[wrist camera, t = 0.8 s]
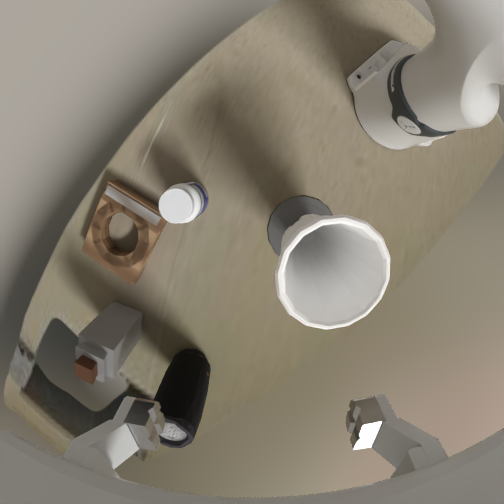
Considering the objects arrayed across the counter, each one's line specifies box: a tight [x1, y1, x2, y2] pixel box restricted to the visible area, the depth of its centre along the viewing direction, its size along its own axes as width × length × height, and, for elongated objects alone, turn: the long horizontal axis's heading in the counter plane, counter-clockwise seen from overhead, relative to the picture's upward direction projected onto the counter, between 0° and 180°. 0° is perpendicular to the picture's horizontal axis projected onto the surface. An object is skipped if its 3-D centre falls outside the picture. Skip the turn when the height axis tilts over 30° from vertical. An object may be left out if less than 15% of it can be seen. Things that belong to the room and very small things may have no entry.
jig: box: [82, 181, 167, 285], centre depth 45 cm, size 14×12×3 cm
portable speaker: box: [153, 349, 210, 448], centre depth 44 cm, size 9×9×20 cm
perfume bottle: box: [74, 301, 143, 384], centre depth 42 cm, size 7×7×18 cm
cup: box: [268, 196, 390, 329], centre depth 35 cm, size 12×12×22 cm
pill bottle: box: [159, 182, 209, 223], centre depth 40 cm, size 6×6×10 cm
